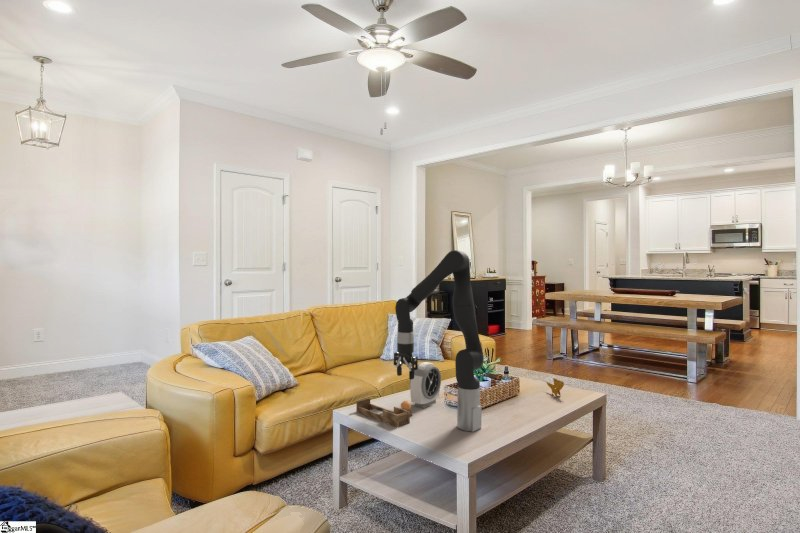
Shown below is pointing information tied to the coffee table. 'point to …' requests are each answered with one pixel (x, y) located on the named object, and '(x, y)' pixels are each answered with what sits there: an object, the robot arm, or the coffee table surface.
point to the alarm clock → (425, 385)
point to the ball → (405, 405)
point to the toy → (556, 386)
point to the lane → (383, 413)
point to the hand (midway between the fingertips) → (405, 377)
